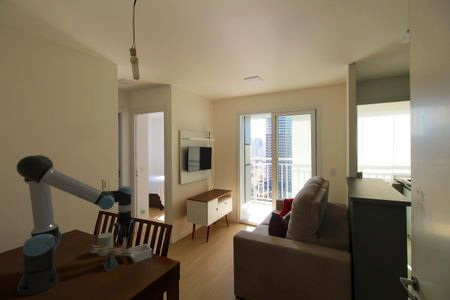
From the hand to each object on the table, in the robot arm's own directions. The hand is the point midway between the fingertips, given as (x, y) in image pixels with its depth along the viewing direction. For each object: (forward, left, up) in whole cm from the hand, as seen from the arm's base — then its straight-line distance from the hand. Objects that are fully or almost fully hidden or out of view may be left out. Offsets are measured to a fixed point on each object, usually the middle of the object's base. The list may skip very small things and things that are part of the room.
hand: (124, 247), depth 136 cm
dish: (+8, -7, -6) cm, 12 cm away
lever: (-10, -4, +1) cm, 10 cm away
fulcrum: (-9, -7, -6) cm, 13 cm away
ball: (+8, -7, -4) cm, 12 cm away
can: (-8, +13, -6) cm, 16 cm away
